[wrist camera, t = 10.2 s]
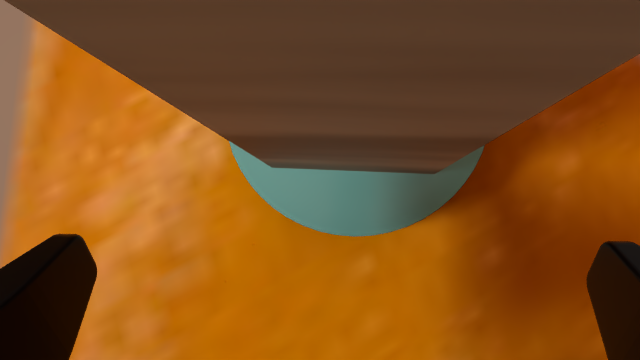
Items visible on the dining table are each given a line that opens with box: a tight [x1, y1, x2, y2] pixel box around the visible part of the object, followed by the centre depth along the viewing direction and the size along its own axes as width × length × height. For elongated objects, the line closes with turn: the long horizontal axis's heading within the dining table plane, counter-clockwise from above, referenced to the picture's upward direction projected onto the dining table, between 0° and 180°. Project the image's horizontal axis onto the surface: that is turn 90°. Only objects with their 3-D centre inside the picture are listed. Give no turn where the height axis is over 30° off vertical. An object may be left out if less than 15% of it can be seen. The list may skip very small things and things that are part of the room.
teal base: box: [229, 141, 485, 236], centre depth 16 cm, size 9×9×2 cm
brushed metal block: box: [5, 0, 640, 174], centre depth 9 cm, size 5×5×13 cm
